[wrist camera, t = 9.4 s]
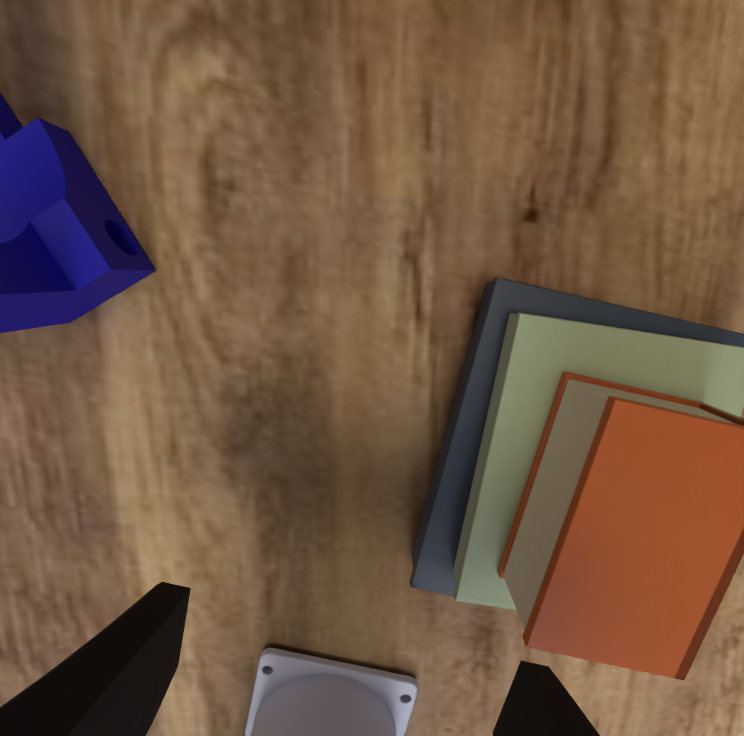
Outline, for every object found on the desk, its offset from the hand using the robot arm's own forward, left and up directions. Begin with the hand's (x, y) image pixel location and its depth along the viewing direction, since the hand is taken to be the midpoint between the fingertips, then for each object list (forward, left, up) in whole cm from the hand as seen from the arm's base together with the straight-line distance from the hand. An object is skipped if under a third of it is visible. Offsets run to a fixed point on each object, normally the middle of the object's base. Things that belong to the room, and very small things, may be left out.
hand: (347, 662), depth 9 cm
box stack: (+2, -8, -10) cm, 13 cm away
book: (+2, -8, -7) cm, 11 cm away
